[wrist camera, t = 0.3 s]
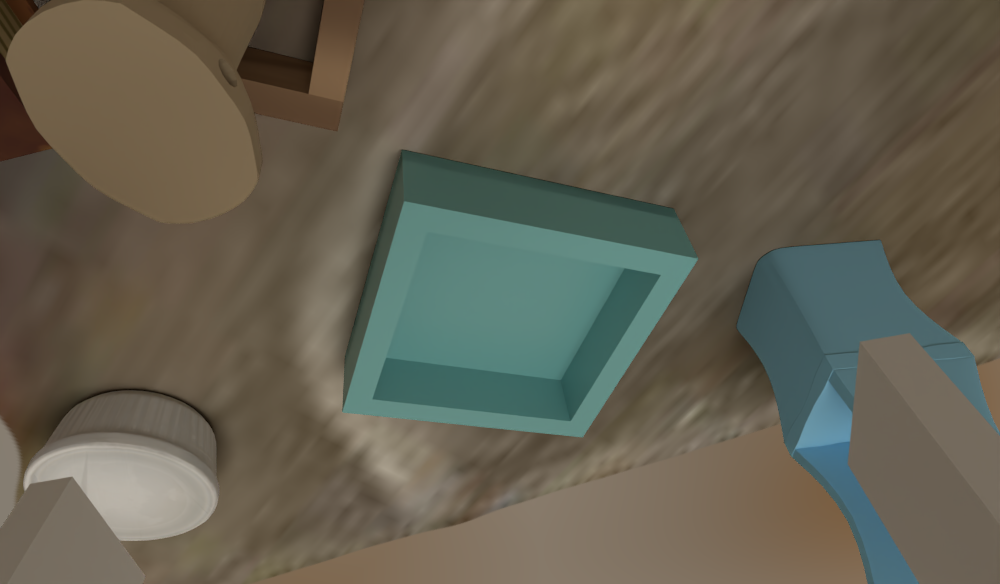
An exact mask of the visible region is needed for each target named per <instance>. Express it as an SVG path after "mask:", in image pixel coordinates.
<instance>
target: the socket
mask: <svg viewBox="0 0 1000 584" xmlns="http://www.w3.org/2000/svg"><path fill="white" fill-rule="evenodd" d="M363 5H364V0H324V2H323V8H322V14H321V20H320V26H319V32H318V38H317V44H316V49H315V55H314V61H313V63H312V62H308V61H304V60H299V59H295V58H291V57H287V56H283V55H279V54H275V53H271V52H267V51H263V50H259V49H255V48H250V47H247V48H246V50H245V53H244V55H243V57H242V59H241V61H240V63H239V66H238V68H237V72H238V74H239V76H240V77H241V80H242V82H243V84H244V87H245V89H246V92H247V94H248V96H249V98H250V101H251V104H252V108H253V111H254V113H256V114H260V115H265V116H269V117H274V118H278V119H283V120H288V121H292V122H297V123H301V124H306V125H310V126H315V127H320V128H324V129H329V130H333V131H338V126H339V122H340V117H341V112H342V107H343V102H344V97H345V92H346V88H347V83H348V78H349V73H350V68H351V63H352V58H353V54H354V49H355V44H356V39H357V34H358V29H359V24H360V20H361V15H362V10H363Z"/></svg>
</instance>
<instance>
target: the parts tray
mask: <svg viewBox="0 0 1000 584" xmlns="http://www.w3.org/2000/svg"><path fill="white" fill-rule="evenodd" d="M697 260H698V257H697V255H696V253H695V251H694V249H693V247H692V245H691V243H690V241H689V239H688V237H687V235H686V233H685V231H684V229H683V227H682V225H681V223H680V221H679V219H678V217H677V215H676V213H675V211H674V209H673V208H668V207H663V206H659V205H654V204H650V203H645V202H640V201H636V200H631V199H627V198H622V197H617V196H613V195H608V194H604V193H599V192H594V191H590V190H585V189H581V188H576V187H571V186H567V185H562V184H558V183H553V182H548V181H544V180H539V179H535V178H530V177H525V176H521V175H516V174H512V173H507V172H502V171H498V170H493V169H488V168H484V167H479V166H475V165H470V164H465V163H461V162H456V161H452V160H447V159H442V158H438V157H433V156H429V155H424V154H419V153H415V152H410V151H406V150H402V152H401V155H400V159H399V162H398V166H397V170H396V173H395V177H394V181H393V184H392V188H391V192H390V195H389V199H388V202H387V206H386V210H385V213H384V217H383V221H382V224H381V228H380V232H379V235H378V239H377V242H376V246H375V250H374V253H373V257H372V261H371V264H370V268H369V271H368V275H367V279H366V282H365V286H364V290H363V293H362V297H361V301H360V304H359V308H358V311H357V315H356V319H355V322H354V326H353V330H352V333H351V337H350V341H349V344H348V348H347V351H346V355H345V367H344V388H343V409H342V412H344V413H354V414H363V415H373V416H383V417H392V418H402V419H412V420H421V421H431V422H440V423H450V424H460V425H469V426H479V427H488V428H498V429H508V430H517V431H527V432H537V433H546V434H556V435H565V436H575V437H583V436H584V434H585V433H586V431H587V430H588V428H589V427H590V425H591V424H592V422H593V421H594V419H595V417H596V416H597V414H598V413H599V411H600V410H601V408H602V407H603V405H604V404H605V402H606V401H607V399H608V397H609V396H610V394H611V393H612V391H613V390H614V388H615V387H616V385H617V384H618V382H619V380H620V379H621V377H622V376H623V374H624V373H625V371H626V370H627V368H628V367H629V365H630V364H631V362H632V360H633V359H634V357H635V356H636V354H637V353H638V351H639V350H640V348H641V347H642V345H643V343H644V342H645V340H646V339H647V337H648V336H649V334H650V333H651V331H652V330H653V328H654V326H655V325H656V323H657V322H658V320H659V319H660V317H661V316H662V314H663V313H664V311H665V310H666V308H667V306H668V305H669V303H670V302H671V300H672V299H673V297H674V296H675V294H676V293H677V291H678V289H679V288H680V286H681V285H682V283H683V282H684V280H685V279H686V277H687V276H688V274H689V273H690V271H691V269H692V268H693V266H694V265H695V263H696V262H697Z"/></svg>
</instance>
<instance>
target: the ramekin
mask: <svg viewBox="0 0 1000 584" xmlns="http://www.w3.org/2000/svg"><path fill="white" fill-rule="evenodd" d="M216 470H217V465H216V440H215V435H214V433H213V431H212V428H211V427H210V426H209V424H208V423H207V422H206V421H205V419H204V418H203V417H202V416H201V415H200V414H199V413H198V412H197V411H196V410H194V409H193V408H192V407H190V406H189V405H187V404H185V403H183V402H181V401H179V400H177V399H174V398H172V397H169V396H166V395H163V394H159V393H154V392H148V391H137V390H122V391H113V392H108V393H103V394H100V395H97V396H94V397H92V398H90V399H87V400H85V401H83V402H82V403H79V404H77V405H76V406H75V407H74V408H72V409H71V410H70V411H69V412H68V413H67V414H66V415H65V417H64V418H63V419H62V421H61V422H60V424H59V425H58V426H57V428H56V429H55V431H54V432H53V434H52V435H51V437H50V438H49V439H48V441H47V442H46V444H45V446H44V447H43V448H42V449H41V450H40V451H38V452H37V453H36V454H35V456H34V457H33V458H32V459H31V461H30V463H29V465H28V467H27V469H26V472H25V475H24V483H23V485H24V490H25V491H26V489H27V488H28V486H29V485H30V484H32V483H38V482H43V481H49V480H55V479H61V478H67V477H73V478H74V479H75V481H76V482H77V483H78V485H79V486H80V487H81V489H82V490H83V492H84V493H85V494H86V496H87V497H88V498H89V500H90V501H91V502H92V504H93V505H94V507H95V508H96V509H97V511H98V512H99V513H100V515H101V516H102V517H103V519H104V520H105V522H106V523H107V524H108V526H109V527H110V528H111V530H112V531H113V532H114V534H115V535H116V537H117V538H118V539H119V540H126V541H140V540H154V539H161V538H167V537H171V536H175V535H179V534H182V533H185V532H187V531H190V530H192V529H194V528H196V527H197V526H199V525H201V524H202V523H204V522H205V521H206V520H208V518H209V517H210V516H211V515H212V514H213V512H214V510H215V508H216V506H217V502H218V497H219V484H218V480H217V478H216Z"/></svg>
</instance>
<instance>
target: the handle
mask: <svg viewBox="0 0 1000 584" xmlns="http://www.w3.org/2000/svg"><path fill="white" fill-rule="evenodd" d="M265 3H266V0H51V1H49V2H48V3H46V4H45V5H43V6H42V7H40V9H39V10H38V11H37V12H36V13H35V14H34V15H33V16H32V17H31V18H30V19H29V20H28V21H27V22H26V23H25V24H24V25H23V26H22V27H21V28H20V30H19V31H18V32H17V33H16V34H15V36H14V38H13V40H12V42H11V44H10V46H9V49H8V53H7V57H6V60H5V61H6V63H7V66H8V68H9V71H10V73H11V76H12V78H13V81H14V83H15V86H16V88H17V91H18V93H19V95H20V98H21V100H22V102H23V105H24V107H25V109H26V112H27V114H28V115H29V117H30V119H31V121H32V122H33V124H34V126H35V128H36V129H37V131H38V132H39V133H40V134H41V135H42V136H43V138H44V139H45V140H46V141H47V142H48V144H49V145H50V146H51V147H52V148H53V149H54V150H55V151H56V152H57V153H58V154H59V155H60V156H61V157H62V158H63V159H64V160H65V161H66V162H67V163H68V164H69V165H70V166H71V167H72V168H73V169H74V170H75V171H76V172H77V173H78V174H79V175H80V176H81V177H82V178H84V179H85V180H86V181H87V182H88V183H89V184H91V185H92V186H93V187H94V188H95V189H97V190H99V191H100V192H102V193H104V194H105V195H107V196H108V197H110V198H112V199H114V200H115V201H117V202H119V203H121V204H123V205H125V206H127V207H129V208H131V209H133V210H135V211H137V212H139V213H141V214H143V215H145V216H147V217H149V218H152V219H154V220H156V221H158V222H160V223H171V224H189V223H194V222H200V221H205V220H208V219H211V218H214V217H217V216H220V215H222V214H224V213H226V212H228V211H229V210H231V209H233V208H235V207H236V206H238V205H239V204H240V203H242V202H243V201H244V200H245V199H246V198H247V197H248V196H249V195H250V193H251V192H252V191H253V189H254V188H255V186H256V184H257V182H258V180H259V176H260V171H261V166H262V153H261V145H260V139H259V133H258V128H257V123H256V119H255V114H254V111H253V108H252V104H251V101H250V98H249V96H248V94H247V92H246V89H245V87H244V84H243V82H242V80H241V77H240V76H239V74H238V72H237V68H238V66H239V63H240V61H241V59H242V57H243V55H244V53H245V50H246V48H247V46H248V44H249V42H250V40H251V38H252V36H253V34H254V32H255V30H256V28H257V26H258V24H259V22H260V19H261V16H262V13H263V9H264V6H265Z"/></svg>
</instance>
